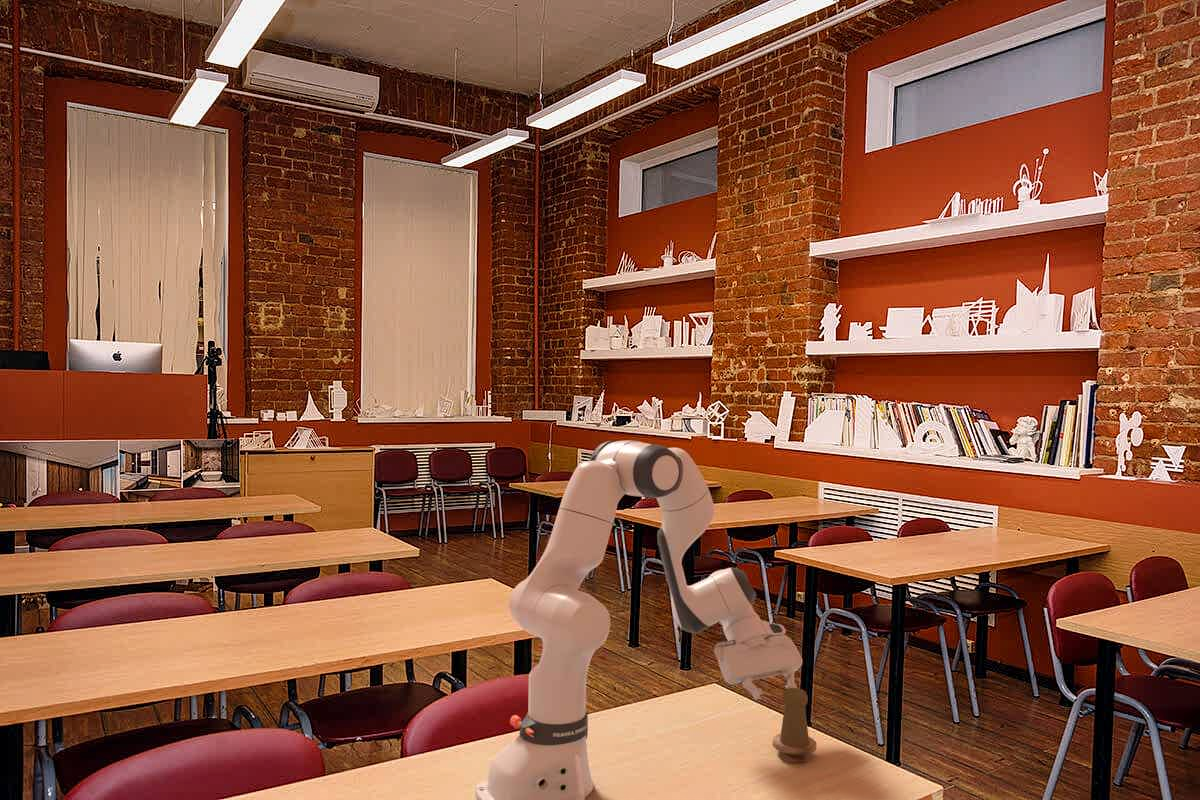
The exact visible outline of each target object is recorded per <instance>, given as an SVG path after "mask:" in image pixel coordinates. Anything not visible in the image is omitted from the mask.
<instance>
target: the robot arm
mask: <svg viewBox="0 0 1200 800" xmlns="http://www.w3.org/2000/svg"><path fill="white" fill-rule="evenodd" d="M625 495H627V496H631V497H632V496H633V497H641V498H643V497H644V498H645V497H646V498H649V499H656V501H657V503H658V506H659V508H660V511H661V514H662V522H661V525H660V528H658V530H657V532H656V538H657V545H658V550H659V555H660V560H661V563H662V567H663V570H664V571H663V572H664V575H665V579H666V582H667V586H668V587H667V588H668V591H669V594H670V595H669V596H670V600H671V608H672V609H671V610H672V614H673V617H674V620H675V622H676V624H677V625H678V626H679V627H680V628H681V630H682V631H685V632H688V633H691V634H695V635H696V634H697V635H698V634H700V633H701V632H703V631H705V630H706V629H708V628H710V627H711V626H713V625H715V624H717V623H719V622H720V624H721V626H722V629H723V634H724V636H725V638H726V640H727V641H719V642H717V643H716V645H715V646H714V647H713V653H714V654H715V657H716V659H717V663H718V665H719V668H720V669H719V670H720V672H721V674H722V677H723V680H724V681H725V682H726V683H727V684H728V685H730V686H731V685H732V686H733V685H736V684H737V685H738V684H742V687H743V688H744V689H745V690H747V691H748V692H749V693H750V694H751V695H752V697H753V699H754V700H755V701H757V700H762V698H764V696H765V695H764V693H763V691H762V688H761V687H759V688H758V687H757V686H756V685H755V684H754V683H753V681H756V680H760V679H761V680H762V679H765V678H771V677H775V676H781V675H783V677H784V679H786V680H787V682H786V683H787V684H786V685H784V687H785V690H786V689H788V688H798V686H797V683H796V682H795V672H796V671H798V670H799V669H800V668H801V667H802V666H803V657H802V655H801V654H800V651H799V650H798V648H797V646H796V645H795V643H794V641H793V640H792V638H790V637H789V636H787V635H786V632H787V631H786V628H785V627H784V625H782V624H779V623H774V622H769V621H766V620H762V619H761V618H760V615H759V614H758V613H757V612H756V611H755V610H754V608H753V606H754V604H755V601H756V598H757V592H756V591H755V590H754V588H753V586H752V585H751V583H750V582H749V579H748V576H747V573H746V572H745V570H742V569H739V568H736V567H733V566H732V567H727V568H725V569H724V568H723V569H719V570H715V571H714V572H712V573H710V575H709V576H708V577H706V578H704V579H702V580H699V581H698V582H695V583H693V584H691V585H688V584H687V580H686V576H685V571H684V568H683V565H682V563H683V557H684V555H685V553H686V552H687V551H688V549H690V547H691V546H692V545H693V543H695V541H696V540H697V539H699V538H700V537H701V535H703V534H704V533H705V532H706V530H707V529H708V527H710V524H711V523H712V520H713V518H714V514H715V504H714V500H713V496H712V495H711V492H710V489H709V487H708V485H707V483H706V480H705V479H704V476H703V475H702V472H701V471H700V470H699V467H698V466H697V464H696V462H695V461H694V460H693V458H692V457H691V456H690V455H689V453H688V452H687V451H685V450H684V449H682V448H679V447H665V446H663V445H661V444H660V445H659V444H651V443H646V442H642V441H639V440H631V439H629V440H620V439H613V440H607V441H605V442H603V443H600V444H599V445H598V446H597V447H596V448H595V449H594V450H593V452H592V453H591V455H590V457H589V460H587V461H586V460H585V461H584V462H581V463H580V464H578V465H577V466H576V468H575V470H574V471H573V473H572V475H571V476H570V479H569V481H568V483H567V486H566V488H565V490H564V492H563V495H562V499H561V502H560V504H559V508H558V511H557V514H556V517H555V521H554V525H553V528H552V530H551V534H550V537H549V541H548V543H547V545H546V548H545V550H544V552H543V553H542V556H541V557H540V559H539V561H538V562H537V564H536V565H535V567H534V568H533V570H532V571H531V573H530V574H529V575H528V577H526V578H525V579H523V580H522V581H520V582H519V583H518V584H517V585H516V586H515V587H514V588H513V590H512V591H511V594H510V596H509V600H508V601H509V602H508V608H509V613H510V615H511V618H512V619H513V620H514V621H515V622H516V623H517V625H518V626H519V627H521V629H523V630H524V631H525V632H526V633H529V634H530V635H533V636H535V637H538V638H540V639H541V641H542V651H541V656H540V659H539V662H538V663H537V664H536V665H534V667H532V668H531V670H530V671H529V675H528V702H527V703H528V706H527V707H528V711H527V713H526V714H525V717H524V718H523V719H522V718H521V717H520V716H518V715H517V714H515V715H512V716H510V717H511V718H510V719H509V724H510V725H511V726H512V727H514V729H516V730H517V729H519V734H518V735H517V736H516V737H515V738H514V739H512V741H510V742H509V743H508V744H507V745H506V746H505V747H504V748H503V749H501V750H500V752H498V753H497V754H496V755H495V756H494V757H493V758H492V760H491V761H490V764H489V768H488V776H487V779H485V780H482V781H480V782H477V785H476V788H475V796H476V799H477V800H586V797H588V795H590V794H591V793H592V791H593V790H594V781H593V778H592V774H591V771H590V765H589V758H588V749H587V739H588V734H589V733H588V732H589V727H588V726H589V719H588V717H589V716H588V715H589V714H588V712H587V711H586V709H587V708H586V703H587V702H586V700H587V677H588V671H589V667H590V663H591V660H592V657H593V655H594V653H595V652H596V651H597V650H598V649H599V648H600V647H601V646H602V645H603V644H604V643H605V642H606V640H607V638H608V636H609V633H610V630H611V617H610V616H611V615H610V613H609V612H610V611H608V609H607V607H606V606H605V605H604V604H603V603H601V601H599V600H598V599H596V597H594V596H593V595H591V594H590V593H587V592H585V591H582V590H579V588H580V586H581V585H582V583H583V581H584V579H585V578H586V577H587V575H588V574H589V573H590V572H591V571H592V570H593V569H595V568H597V567H598V566H600V565H601V563H602V562H603V560H604V557H605V554H606V551H607V550H606V549H607V547H608V542H609V539H610V536H611V533H612V528H613V525H614V521H615V518H616V514H617V508H618V504H619V502H620V500H621V499H622V498H623V497H624V496H625Z"/></svg>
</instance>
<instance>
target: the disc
mask: <svg viewBox="0 0 1200 800" xmlns="http://www.w3.org/2000/svg"><path fill="white" fill-rule="evenodd" d="M780 736H781V733H779V734H775V736H773V737H772V747H773V748H775V749H776V750H777V751H776V754H777V755H776V756H777V758H779V760H781V761H783V762H786V763H789V764H806V763H808V762H810V761H812V753H815V751H816V750H817V742H816V740H815V739H814V738H812V737H810V736H809V745H808V746H806V747H802V748H794V747H789V746H785V745H783V744H782V743H781V742H780Z"/></svg>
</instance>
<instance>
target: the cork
mask: <svg viewBox="0 0 1200 800" xmlns="http://www.w3.org/2000/svg"><path fill="white" fill-rule="evenodd" d="M781 698H782V703H783V704H784V708H783V709H784V710H783V716H782V723H781V730H780V734H781V736H780V742H781V743H782V744H783V745H785V746H789V747H794V748H802V747H806V746H808V745H809V737H810V736H809V731H808V730H809V728H808V722H807V713H806V706H807V705H808V702H809V701H808V700H809V697H808V694H807V692H806V691H805V690H804V689H801V688H799V687H797V688H788V689H786V688H785V689H784V691H783V692H782V697H781Z"/></svg>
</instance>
